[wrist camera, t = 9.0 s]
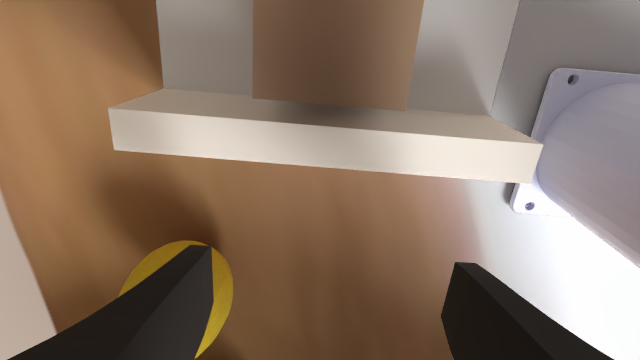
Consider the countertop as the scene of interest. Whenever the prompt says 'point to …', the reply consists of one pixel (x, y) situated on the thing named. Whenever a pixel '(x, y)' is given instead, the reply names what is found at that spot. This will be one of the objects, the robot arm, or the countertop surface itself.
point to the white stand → (331, 120)
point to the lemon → (220, 284)
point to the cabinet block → (335, 51)
